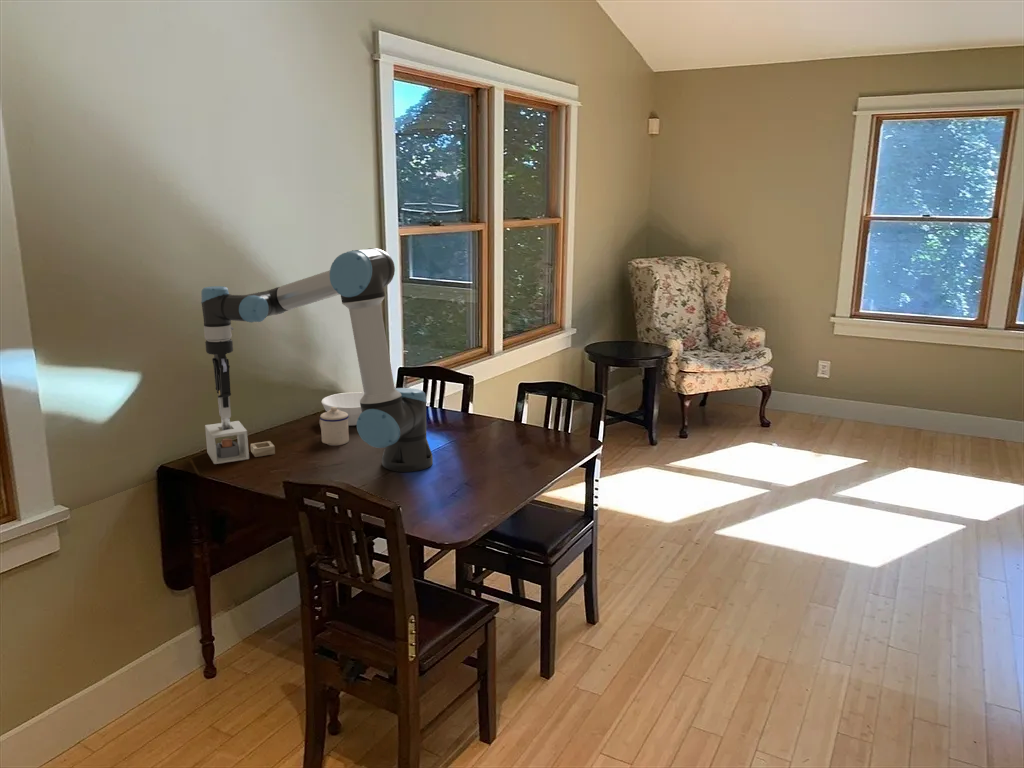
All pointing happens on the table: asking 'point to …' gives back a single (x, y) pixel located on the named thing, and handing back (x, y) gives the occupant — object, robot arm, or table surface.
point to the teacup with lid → (334, 427)
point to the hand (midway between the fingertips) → (225, 416)
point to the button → (226, 442)
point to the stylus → (225, 421)
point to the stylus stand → (262, 448)
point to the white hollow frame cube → (227, 453)
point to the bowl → (345, 404)
